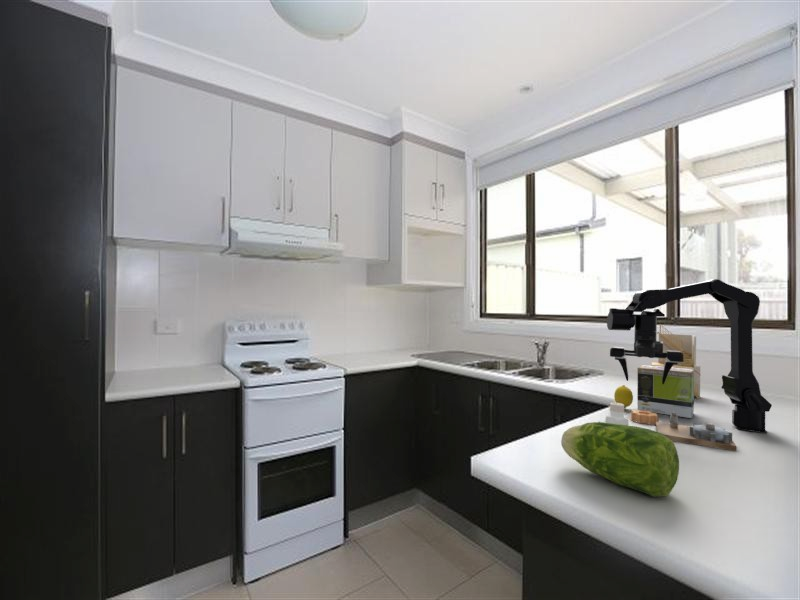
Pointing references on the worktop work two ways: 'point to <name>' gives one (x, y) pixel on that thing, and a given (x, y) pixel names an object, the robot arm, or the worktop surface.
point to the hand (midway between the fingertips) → (644, 382)
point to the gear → (644, 417)
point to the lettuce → (625, 455)
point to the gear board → (697, 434)
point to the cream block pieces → (688, 349)
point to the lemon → (623, 396)
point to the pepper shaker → (617, 414)
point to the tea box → (666, 391)
